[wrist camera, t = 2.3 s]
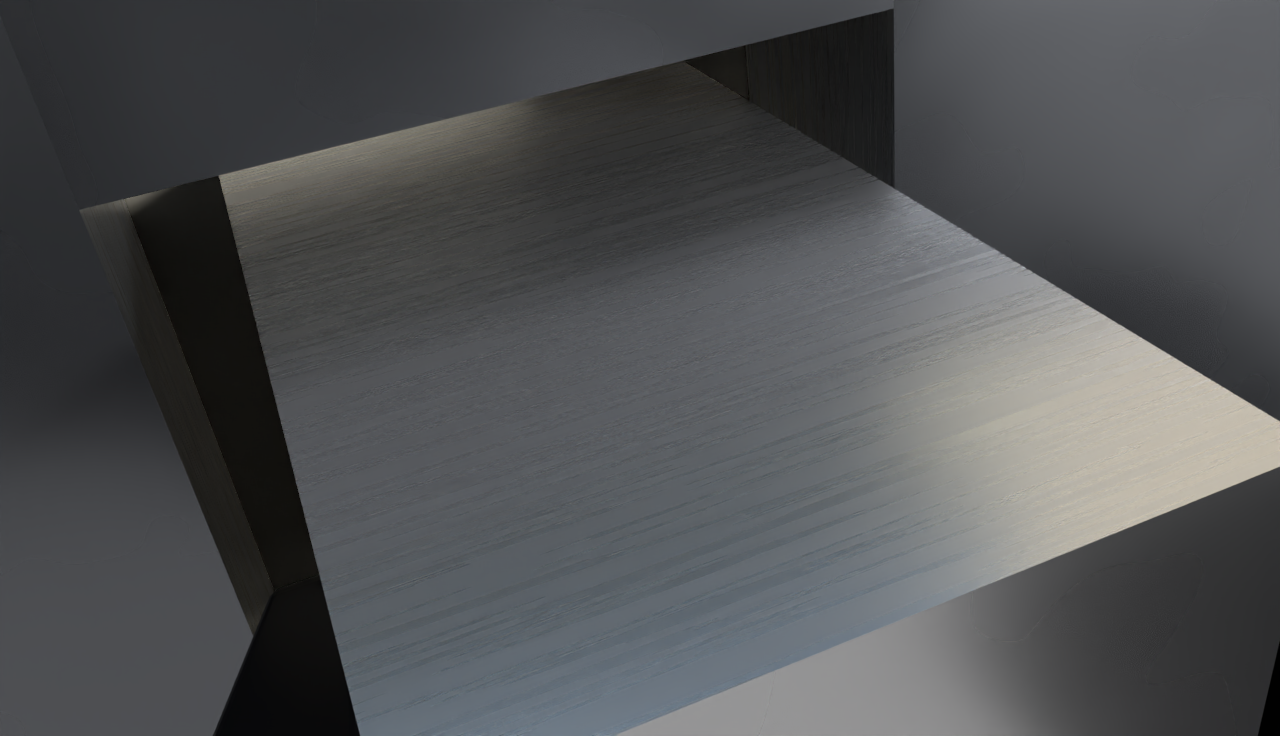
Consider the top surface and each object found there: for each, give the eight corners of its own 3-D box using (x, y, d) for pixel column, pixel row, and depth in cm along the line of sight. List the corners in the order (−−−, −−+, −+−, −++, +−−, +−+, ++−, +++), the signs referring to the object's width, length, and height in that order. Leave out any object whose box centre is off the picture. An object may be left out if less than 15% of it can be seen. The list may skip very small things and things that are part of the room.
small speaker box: (666, 50, 11) (1345, 461, 5) (707, 416, 13) (1211, 1003, 7) (215, 162, 10) (390, 854, 4) (340, 539, 12) (575, 1352, 6)
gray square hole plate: (1239, -363, 11) (1505, -380, 9) (1138, 435, 15) (1294, 545, 13) (-1004, 14, 7) (-1496, 147, 5) (-206, 945, 11) (-273, 1213, 9)
